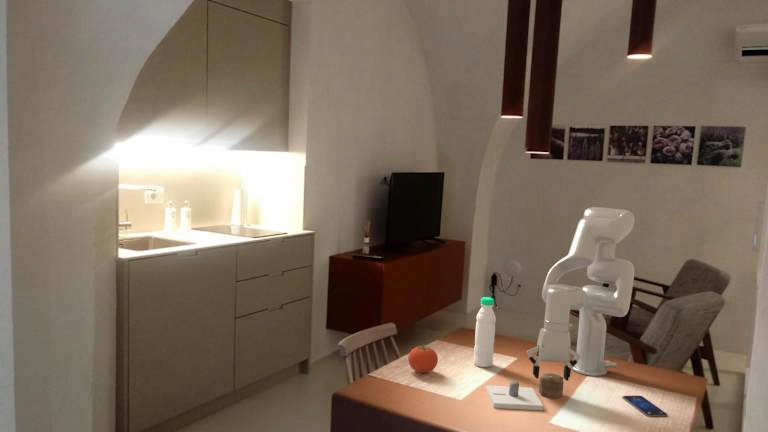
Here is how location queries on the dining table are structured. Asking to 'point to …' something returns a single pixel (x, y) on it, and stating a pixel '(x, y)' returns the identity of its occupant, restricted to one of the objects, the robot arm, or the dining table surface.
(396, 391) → the dining table surface
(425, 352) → the tomato
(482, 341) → the water bottle
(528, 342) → the dining table surface
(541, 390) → the brown short cylinder
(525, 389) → the plate
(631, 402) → the smartphone
